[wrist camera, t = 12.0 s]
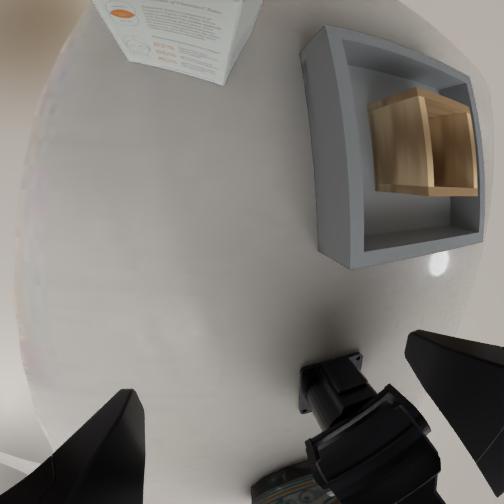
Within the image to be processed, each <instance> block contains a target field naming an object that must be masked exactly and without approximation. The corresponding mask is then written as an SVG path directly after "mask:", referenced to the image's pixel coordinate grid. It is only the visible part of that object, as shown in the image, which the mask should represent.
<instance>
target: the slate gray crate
mask: <svg viewBox="0 0 504 504" xmlns="http://www.w3.org/2000/svg"><path fill="white" fill-rule="evenodd" d="M300 59H301V65H302V71H303V77H304V84H305V91H306V99H307V106H308V114H309V123H310V132H311V142H312V152H313V163H314V176H315V190H316V206H317V227H318V251H319V252H321V253H322V254H324V255H326V256H328V257H329V258H331V259H333V260H334V261H336V262H338V263H339V264H341V265H343V266H344V267H346V268H348V269H350V270H352V269H358V268H363V267H368V266H374V265H379V264H384V263H389V262H394V261H399V260H404V259H409V258H414V257H418V256H423V255H428V254H433V253H437V252H442V251H446V250H451V249H455V248H459V247H464V246H468V245H472V244H476V243H481V242H483V233H484V216H485V177H484V160H483V149H482V140H481V132H480V125H479V119H478V113H477V108H476V103H475V98H474V94H473V89H472V85H471V81H470V78H469V76H467V75H465V74H463V73H462V72H460V71H458V70H456V69H454V68H452V67H450V66H448V65H446V64H444V63H442V62H440V61H438V60H436V59H433V58H431V57H429V56H427V55H424V54H422V53H420V52H417V51H415V50H412V49H410V48H407V47H404V46H402V45H399V44H396V43H393V42H390V41H387V40H384V39H381V38H378V37H375V36H371V35H368V34H364V33H360V32H356V31H352V30H348V29H344V28H339V27H335V26H329V25H324V26H323V27H322V29H321V30H320V31H319V32H318V33H317V34H316V35H315V36H314V38H313V39H312V40H311V41H310V42H309V43H308V45H307V46H306V47H305V48H304V49H303V50H302V52H301V53H300ZM415 87H418V88H421V89H424V90H427V91H430V92H433V93H436V94H439V95H441V96H444V97H447V98H449V99H452V100H454V101H457V102H459V103H462V104H464V105H466V106H469V109H470V115H471V121H472V127H473V134H474V142H475V152H476V164H477V184H478V196H420V195H411V194H401V193H391V192H379V191H375V177H374V163H373V152H372V142H371V133H370V125H369V117H368V110H367V105H369V104H372V103H374V102H377V101H379V100H382V99H384V98H387V97H390V96H392V95H395V94H398V93H401V92H403V91H406V90H409V89H412V88H415Z"/></svg>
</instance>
